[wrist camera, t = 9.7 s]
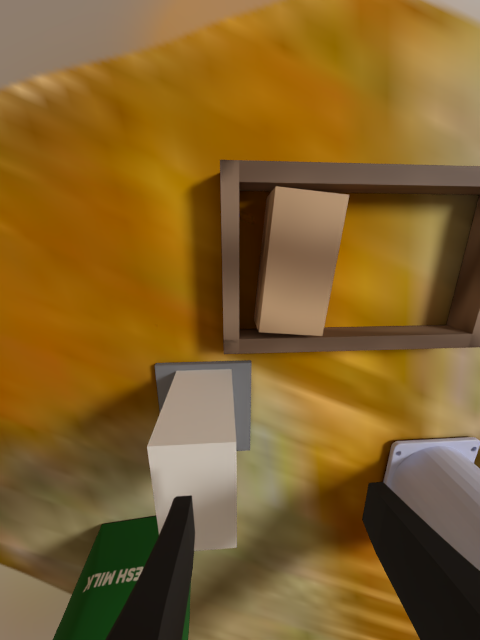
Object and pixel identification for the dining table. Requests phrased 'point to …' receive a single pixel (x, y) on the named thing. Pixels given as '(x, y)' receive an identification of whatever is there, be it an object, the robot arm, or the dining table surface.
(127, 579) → the milk carton
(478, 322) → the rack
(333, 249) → the tan rectangular block
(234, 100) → the dining table surface
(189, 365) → the mat
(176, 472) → the cream rectangular prism
